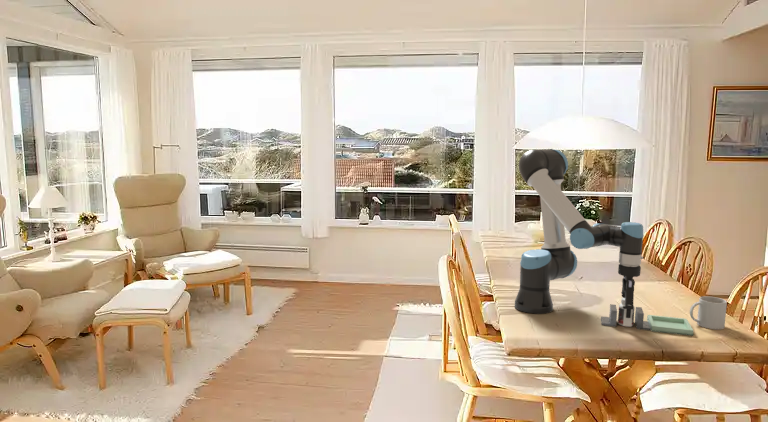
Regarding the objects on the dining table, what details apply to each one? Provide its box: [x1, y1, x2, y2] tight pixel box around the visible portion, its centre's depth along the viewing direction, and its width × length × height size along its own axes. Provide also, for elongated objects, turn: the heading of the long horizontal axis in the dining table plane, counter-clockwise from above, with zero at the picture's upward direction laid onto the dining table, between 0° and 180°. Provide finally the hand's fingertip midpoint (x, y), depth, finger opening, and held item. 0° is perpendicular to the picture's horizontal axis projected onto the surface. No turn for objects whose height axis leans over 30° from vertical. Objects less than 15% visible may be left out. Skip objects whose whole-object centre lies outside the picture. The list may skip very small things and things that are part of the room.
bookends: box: [600, 303, 652, 332], centre depth 208 cm, size 17×8×6 cm, turn 71°
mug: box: [689, 295, 728, 330], centre depth 208 cm, size 11×10×10 cm
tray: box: [646, 314, 694, 337], centre depth 205 cm, size 13×13×2 cm
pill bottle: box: [617, 297, 636, 327], centre depth 208 cm, size 5×5×10 cm
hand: (625, 320), depth 208 cm, fingers open, 13 cm apart
